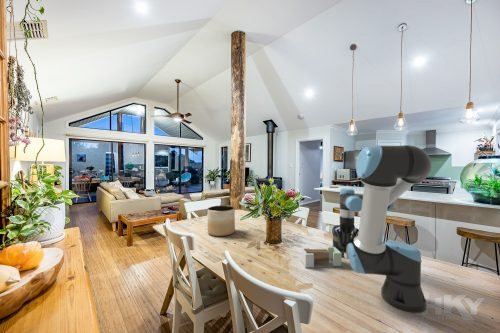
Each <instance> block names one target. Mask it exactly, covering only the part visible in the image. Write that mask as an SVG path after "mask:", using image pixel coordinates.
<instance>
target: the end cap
mask: <svg viewBox="0 0 500 333" xmlns="http://www.w3.org/2000/svg"><path fill="white" fill-rule="evenodd" d="M326 248H327V250H328V252H329V260H333V266H342V261H343V260H342V258H343V256H342V253H341V252H340V251H339V250H338V249H336V248H335V247H333V246H327V247H326Z"/></svg>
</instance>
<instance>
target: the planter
mask: <svg viewBox="0 0 500 333" xmlns="http://www.w3.org/2000/svg"><path fill="white" fill-rule="evenodd" d="M235 214H236V212H235V207H234V206H231V205H225V204H224V205H213V206H210V207H207V233H208V235H210V236H213V237H227V236H230V235H233V234H234V233H235V231H236V221H235V220H236V219H235V218H236V217H235Z"/></svg>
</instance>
